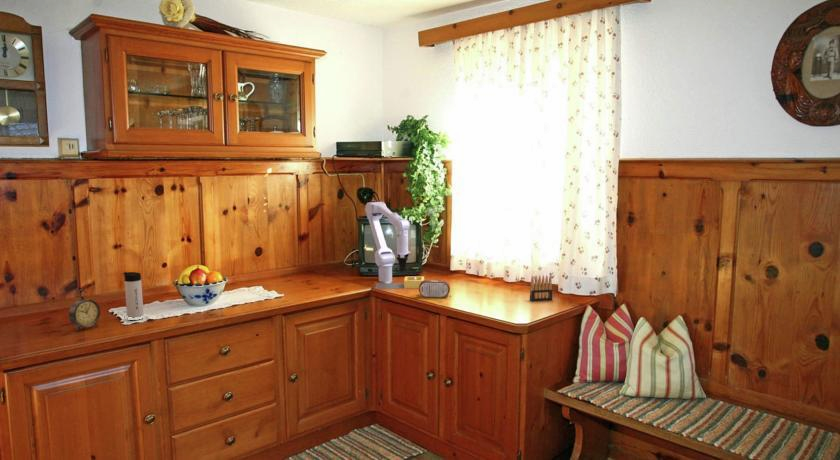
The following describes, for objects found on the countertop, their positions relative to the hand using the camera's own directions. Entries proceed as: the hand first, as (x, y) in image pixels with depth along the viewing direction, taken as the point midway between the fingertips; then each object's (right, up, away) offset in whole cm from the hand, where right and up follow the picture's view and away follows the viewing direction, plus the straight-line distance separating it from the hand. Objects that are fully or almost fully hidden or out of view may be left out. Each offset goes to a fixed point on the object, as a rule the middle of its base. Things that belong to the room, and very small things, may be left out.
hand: (402, 269), depth 303 cm
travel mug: (-111, -17, -57) cm, 126 cm away
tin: (+16, -12, -21) cm, 29 cm away
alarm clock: (-124, -19, -70) cm, 144 cm away
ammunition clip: (+66, -13, -28) cm, 72 cm away
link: (+6, -9, -1) cm, 10 cm away
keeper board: (-1, -10, 0) cm, 10 cm away
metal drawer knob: (+6, -9, 0) cm, 10 cm away
